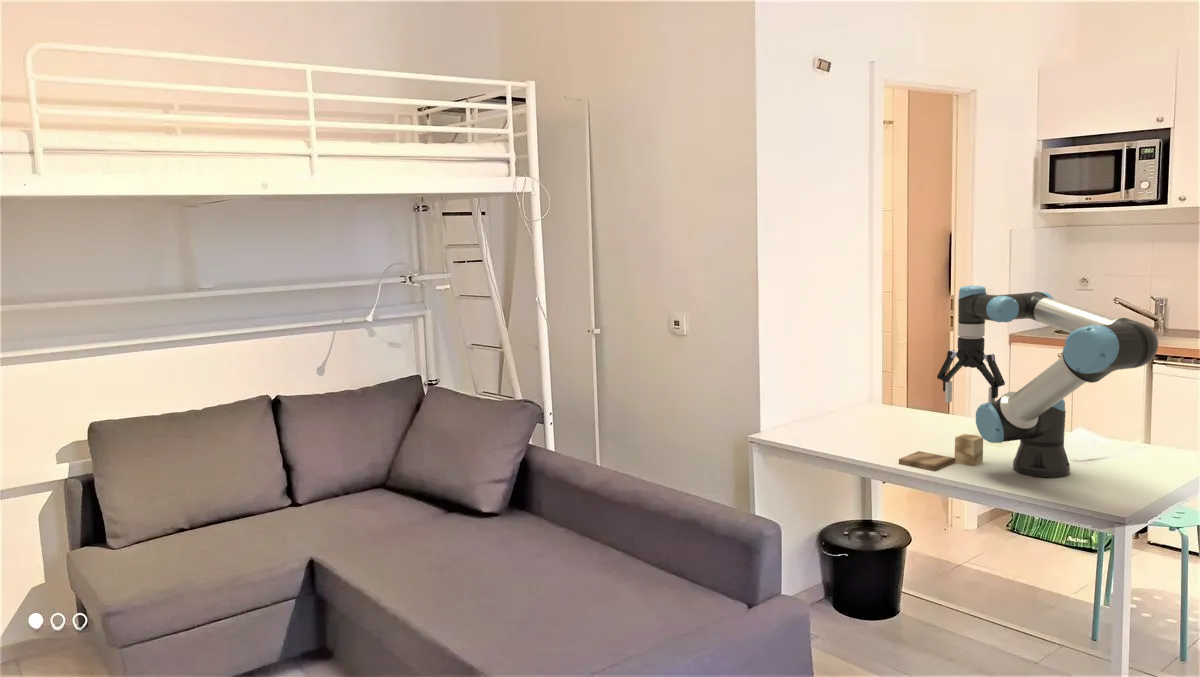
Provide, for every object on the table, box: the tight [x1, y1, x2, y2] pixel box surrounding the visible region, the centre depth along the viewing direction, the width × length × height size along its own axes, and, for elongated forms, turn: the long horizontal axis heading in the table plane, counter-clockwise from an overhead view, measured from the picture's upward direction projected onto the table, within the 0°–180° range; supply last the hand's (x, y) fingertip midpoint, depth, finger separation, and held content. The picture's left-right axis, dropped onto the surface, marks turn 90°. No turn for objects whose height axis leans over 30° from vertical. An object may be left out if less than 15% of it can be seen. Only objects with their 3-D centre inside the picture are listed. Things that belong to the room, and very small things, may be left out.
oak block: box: [954, 433, 984, 467], centre depth 273 cm, size 6×6×8 cm
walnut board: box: [898, 450, 955, 472], centre depth 273 cm, size 12×12×2 cm
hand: (969, 405), depth 271 cm, fingers open, 13 cm apart
